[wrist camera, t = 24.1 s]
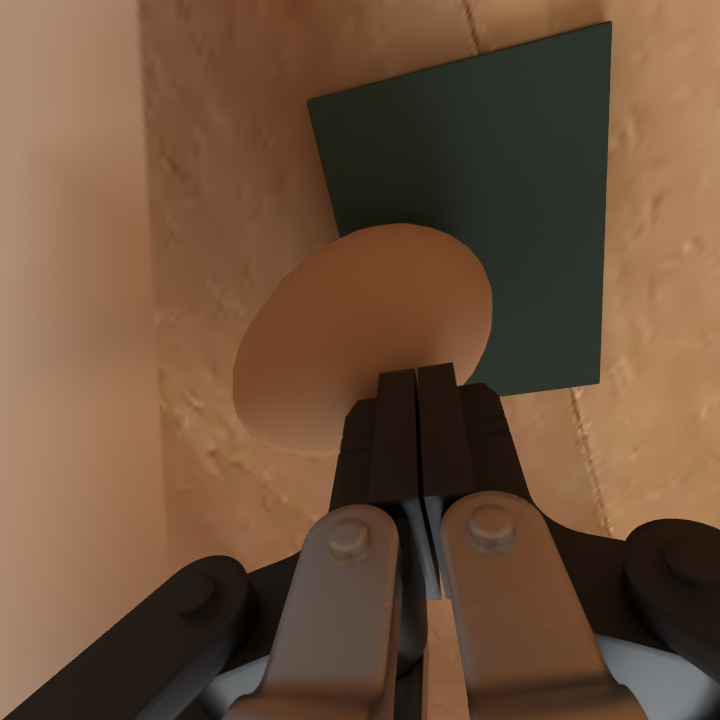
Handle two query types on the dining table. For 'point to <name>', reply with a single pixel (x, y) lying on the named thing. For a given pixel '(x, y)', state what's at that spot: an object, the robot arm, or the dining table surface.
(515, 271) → the mat
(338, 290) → the egg
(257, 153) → the dining table surface
